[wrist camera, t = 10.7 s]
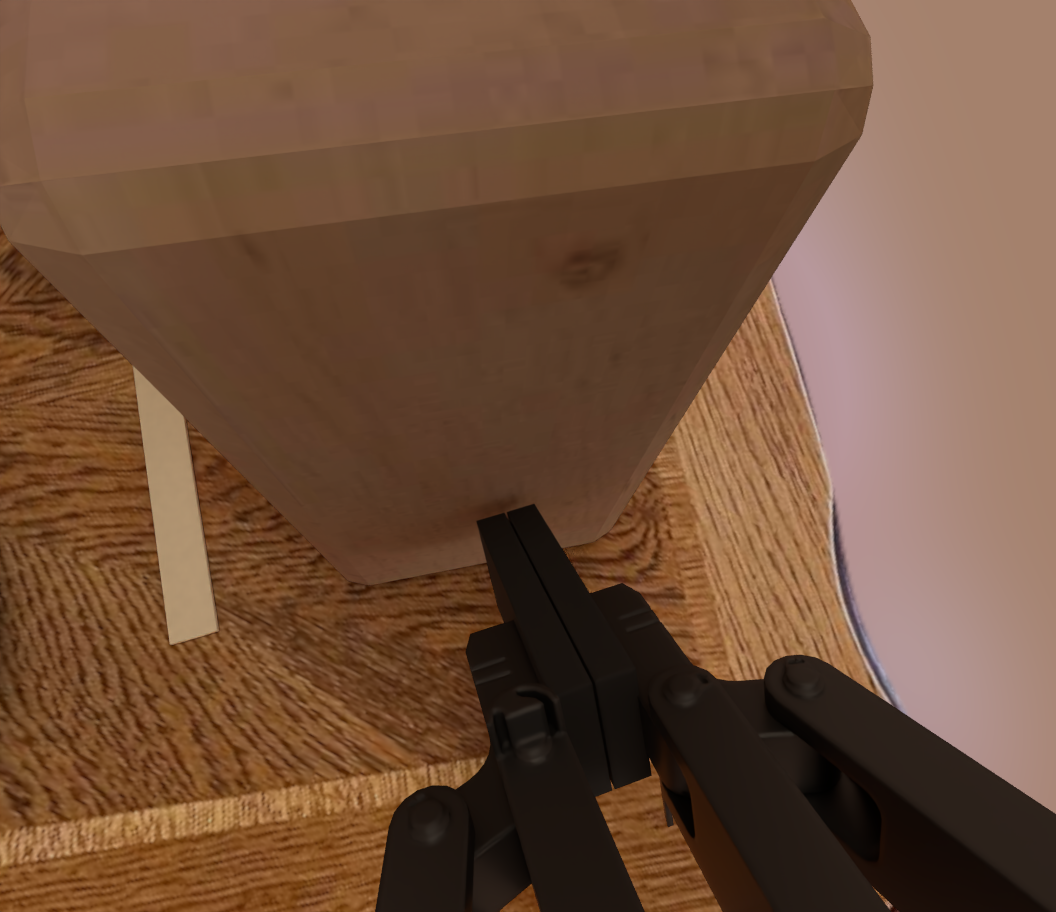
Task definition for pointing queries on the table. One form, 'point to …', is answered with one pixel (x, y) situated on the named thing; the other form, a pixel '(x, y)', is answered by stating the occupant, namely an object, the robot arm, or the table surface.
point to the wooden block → (424, 232)
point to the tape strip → (176, 517)
